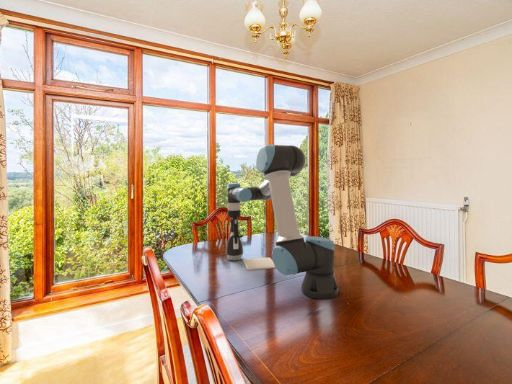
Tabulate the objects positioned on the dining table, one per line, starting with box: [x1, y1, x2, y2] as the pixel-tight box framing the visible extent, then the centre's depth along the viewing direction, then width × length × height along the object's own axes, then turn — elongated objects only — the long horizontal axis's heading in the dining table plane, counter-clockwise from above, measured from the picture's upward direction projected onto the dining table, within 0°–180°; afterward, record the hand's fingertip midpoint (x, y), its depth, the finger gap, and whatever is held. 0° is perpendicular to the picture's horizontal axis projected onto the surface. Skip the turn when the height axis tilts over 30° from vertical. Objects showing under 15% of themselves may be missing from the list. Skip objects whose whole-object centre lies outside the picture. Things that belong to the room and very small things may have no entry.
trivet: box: [242, 257, 276, 271], centre depth 156 cm, size 16×16×1 cm
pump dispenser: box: [225, 233, 244, 261], centre depth 165 cm, size 10×10×15 cm
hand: (234, 245), depth 165 cm, fingers open, 13 cm apart
